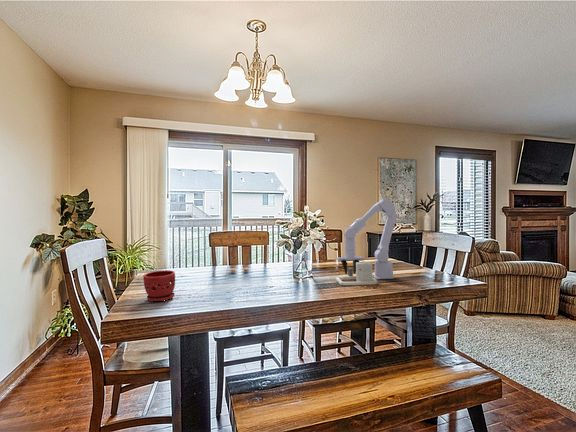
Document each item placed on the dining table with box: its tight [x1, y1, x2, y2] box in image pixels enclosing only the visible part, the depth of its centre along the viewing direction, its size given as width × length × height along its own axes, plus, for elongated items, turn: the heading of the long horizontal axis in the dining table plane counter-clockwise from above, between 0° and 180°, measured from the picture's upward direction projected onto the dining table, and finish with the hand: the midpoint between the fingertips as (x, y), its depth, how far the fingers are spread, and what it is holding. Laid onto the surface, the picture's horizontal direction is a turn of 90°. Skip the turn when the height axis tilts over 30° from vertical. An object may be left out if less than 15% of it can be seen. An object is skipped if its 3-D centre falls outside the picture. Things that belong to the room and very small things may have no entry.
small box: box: [355, 261, 374, 282], centre depth 171 cm, size 8×6×10 cm
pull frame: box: [334, 267, 379, 286], centre depth 176 cm, size 19×20×5 cm
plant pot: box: [142, 269, 176, 302], centre depth 145 cm, size 13×13×12 cm
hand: (350, 273), depth 184 cm, fingers open, 4 cm apart
